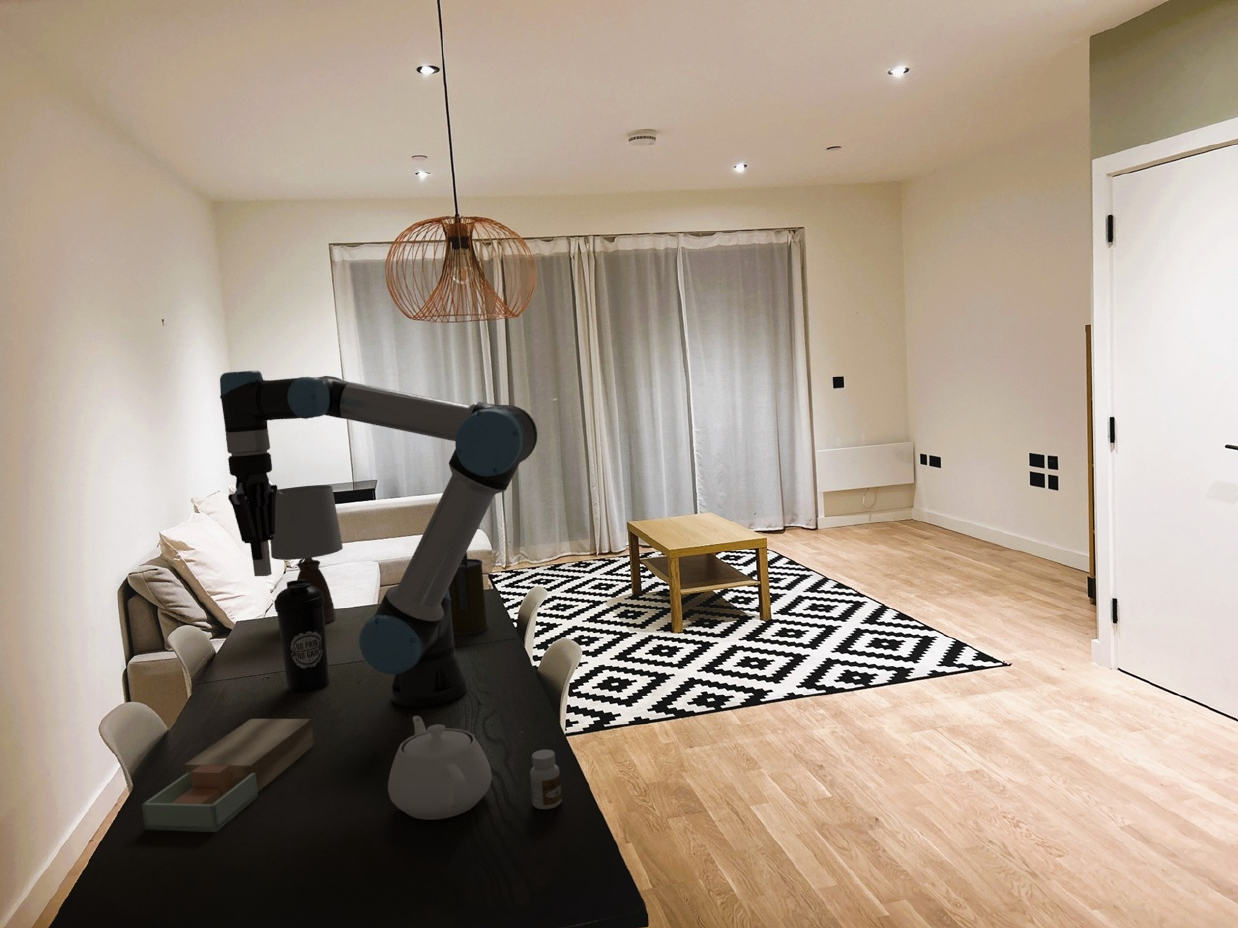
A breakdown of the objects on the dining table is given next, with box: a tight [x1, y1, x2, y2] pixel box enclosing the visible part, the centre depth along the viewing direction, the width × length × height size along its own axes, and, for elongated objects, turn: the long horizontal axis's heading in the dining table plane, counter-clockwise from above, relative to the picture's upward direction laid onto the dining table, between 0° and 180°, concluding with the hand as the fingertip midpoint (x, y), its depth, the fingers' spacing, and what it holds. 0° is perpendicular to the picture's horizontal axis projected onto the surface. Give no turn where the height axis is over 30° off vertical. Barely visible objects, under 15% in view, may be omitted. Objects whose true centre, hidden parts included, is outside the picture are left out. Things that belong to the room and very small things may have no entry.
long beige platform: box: [183, 718, 315, 793], centre depth 157 cm, size 12×19×5 cm, turn 170°
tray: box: [141, 772, 259, 833], centre depth 142 cm, size 12×11×4 cm
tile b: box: [172, 788, 221, 804], centre depth 141 cm, size 5×5×2 cm
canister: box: [448, 551, 489, 637], centre depth 233 cm, size 11×10×20 cm
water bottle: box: [274, 579, 330, 694], centre depth 198 cm, size 10×10×23 cm
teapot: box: [387, 715, 492, 821], centre depth 140 cm, size 25×16×12 cm, turn 27°
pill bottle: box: [529, 749, 562, 810], centre depth 137 cm, size 4×4×8 cm
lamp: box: [270, 484, 344, 625], centre depth 251 cm, size 19×19×37 cm
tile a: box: [191, 765, 232, 797], centre depth 145 cm, size 5×5×2 cm
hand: (263, 575), depth 175 cm, fingers closed
